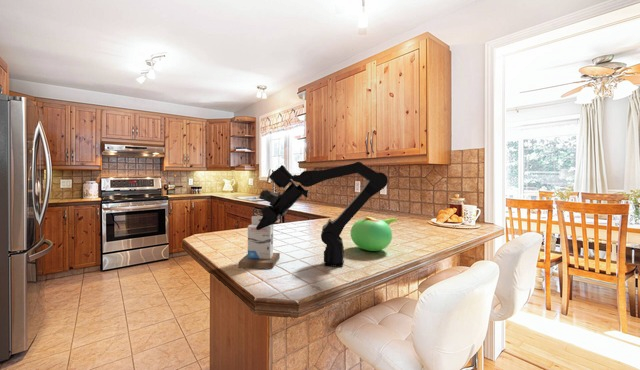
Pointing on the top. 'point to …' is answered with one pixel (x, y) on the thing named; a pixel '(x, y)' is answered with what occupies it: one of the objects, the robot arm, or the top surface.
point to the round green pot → (372, 233)
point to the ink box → (260, 240)
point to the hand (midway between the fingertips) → (259, 227)
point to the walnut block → (259, 262)
